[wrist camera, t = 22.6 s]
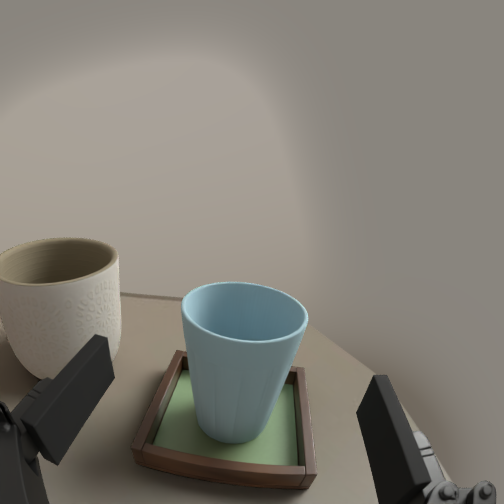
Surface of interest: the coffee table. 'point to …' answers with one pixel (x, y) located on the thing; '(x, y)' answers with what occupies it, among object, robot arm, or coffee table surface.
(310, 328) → the coffee table surface
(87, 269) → the planter
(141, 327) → the coffee table surface
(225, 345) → the cup
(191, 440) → the wooden serving tray
